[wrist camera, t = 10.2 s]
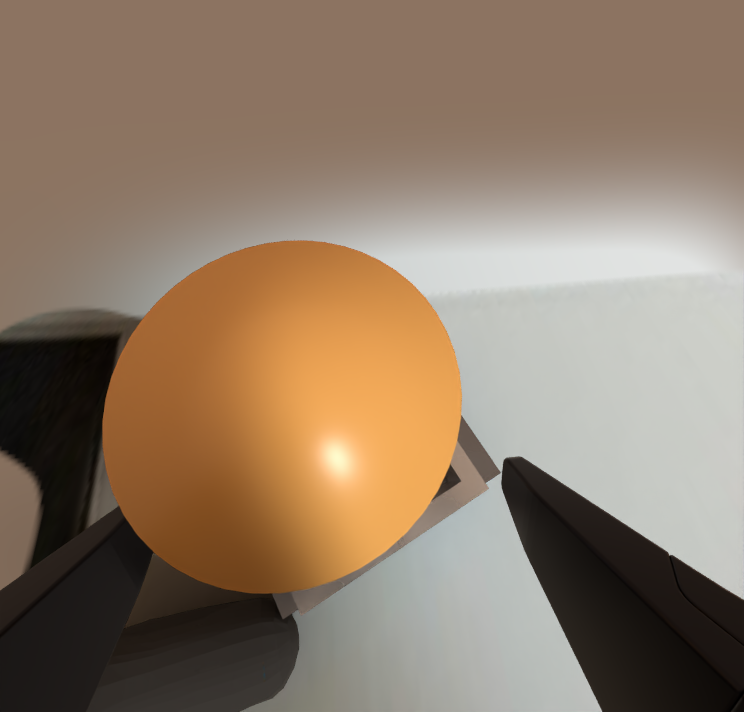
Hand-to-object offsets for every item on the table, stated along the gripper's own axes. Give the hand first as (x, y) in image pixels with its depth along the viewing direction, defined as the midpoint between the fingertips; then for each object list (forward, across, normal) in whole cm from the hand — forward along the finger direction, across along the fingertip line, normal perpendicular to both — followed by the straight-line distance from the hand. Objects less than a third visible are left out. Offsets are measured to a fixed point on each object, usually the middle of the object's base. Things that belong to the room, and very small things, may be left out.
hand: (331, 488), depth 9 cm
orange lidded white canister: (+7, 0, +5) cm, 9 cm away
